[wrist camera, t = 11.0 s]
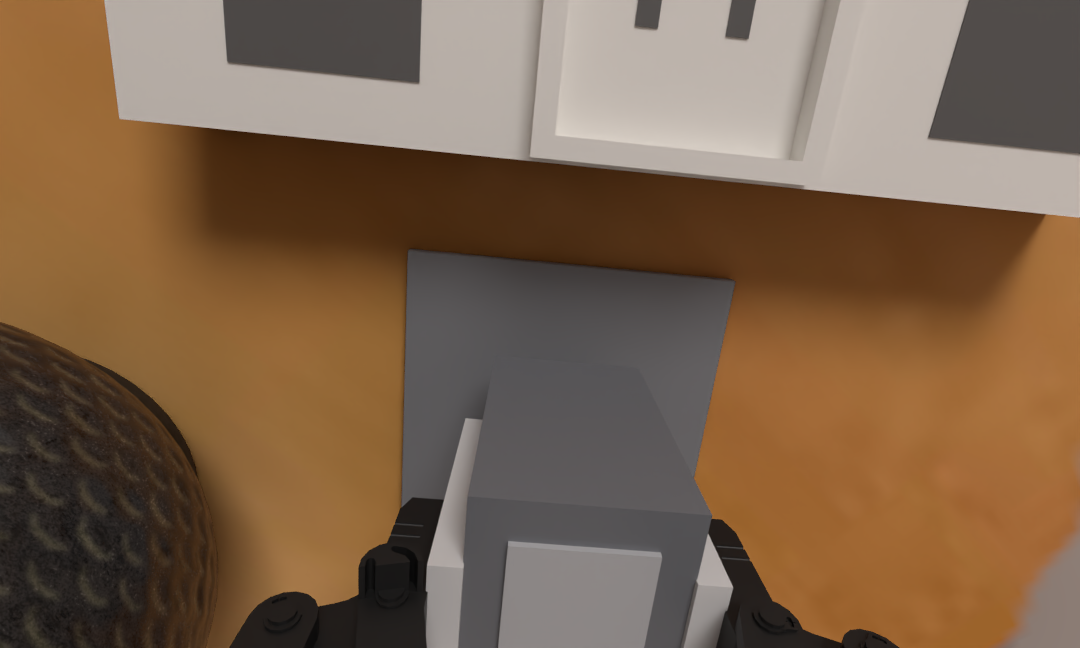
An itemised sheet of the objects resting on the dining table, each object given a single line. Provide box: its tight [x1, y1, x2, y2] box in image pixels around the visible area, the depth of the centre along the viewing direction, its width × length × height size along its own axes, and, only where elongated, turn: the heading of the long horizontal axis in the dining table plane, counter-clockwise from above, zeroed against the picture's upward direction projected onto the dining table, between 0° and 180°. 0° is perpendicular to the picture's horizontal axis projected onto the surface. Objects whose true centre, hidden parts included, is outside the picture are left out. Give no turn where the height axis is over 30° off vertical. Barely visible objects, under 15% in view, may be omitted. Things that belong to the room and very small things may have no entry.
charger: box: [458, 355, 712, 648], centre depth 15 cm, size 5×6×8 cm
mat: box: [402, 249, 735, 507], centre depth 21 cm, size 12×12×1 cm
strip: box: [104, 0, 1080, 217], centre depth 15 cm, size 39×9×5 cm, turn 84°
